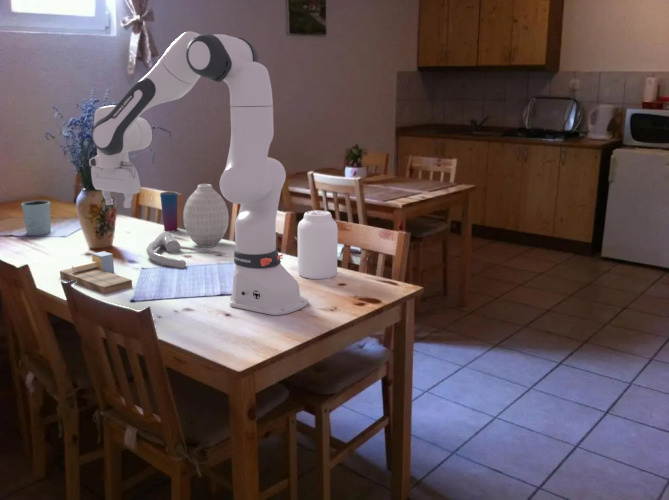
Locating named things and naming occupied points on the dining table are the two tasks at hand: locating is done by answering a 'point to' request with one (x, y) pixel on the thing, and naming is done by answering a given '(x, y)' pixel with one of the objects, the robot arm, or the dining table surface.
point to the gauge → (98, 262)
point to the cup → (169, 210)
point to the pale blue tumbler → (37, 217)
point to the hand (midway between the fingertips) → (118, 206)
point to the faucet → (170, 250)
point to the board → (97, 279)
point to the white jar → (317, 245)
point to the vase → (205, 216)
